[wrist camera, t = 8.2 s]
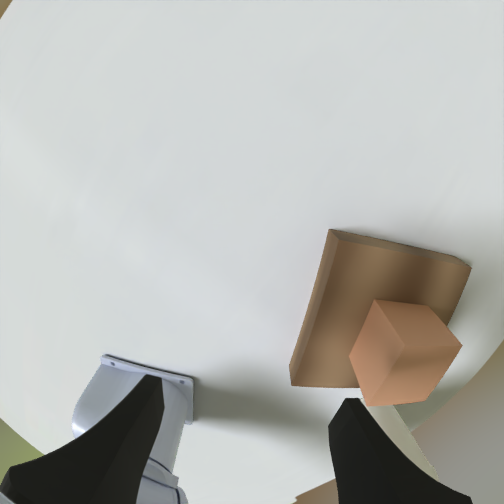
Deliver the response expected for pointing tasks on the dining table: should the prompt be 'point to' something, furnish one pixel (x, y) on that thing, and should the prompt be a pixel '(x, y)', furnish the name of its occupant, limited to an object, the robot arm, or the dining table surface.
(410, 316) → the terracotta block
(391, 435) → the foam cup
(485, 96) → the dining table surface
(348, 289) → the walnut plinth
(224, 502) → the dining table surface
